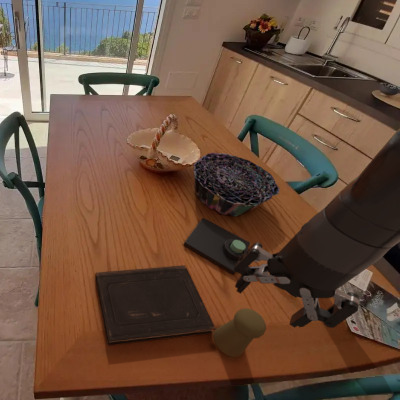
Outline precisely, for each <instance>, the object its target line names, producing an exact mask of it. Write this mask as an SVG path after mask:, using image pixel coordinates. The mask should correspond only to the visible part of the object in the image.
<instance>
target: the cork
mask: <svg viewBox="0 0 400 400" xmlns="http://www.w3.org/2000/svg"><path fill="white" fill-rule="evenodd" d="M265 321H266V320H265V318H263V316H262V315H261V314H260V313H259V312H257V311H256V310H254V309H251V308H241V309H239V310H237V311H236V312H235V314H234V315H233V319H231V320H229V321H227V322H225V323H224V324H222V325H220V326H219V327H217V328H216V329H215V330H214V331H213V341H214V343H215V346H216V347H217V348H218V349H219V351H221V352H222V353H223V354H224V355H226V356H228V357H232V358H237V357H240V356H241V355H242V354H243V353H244V352H245V351H246V349H247V348H248V346H249V345H250V344H251V342H252V341H253V340H254V339H259V338H261V337H263V336H264V335H265V333H266V331H267V324H266V322H265Z"/></svg>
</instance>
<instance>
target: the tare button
mask: <svg viewBox="0 0 400 400" xmlns="http://www.w3.org/2000/svg"><path fill="white" fill-rule="evenodd" d="M230 248H231V250H232V251H233V252H235V253H242V252H243V251H244V249H245V248H246V246H245V244H244V243H243V242H241V241H239V240H234V241H233V242H232V244H231V245H230Z"/></svg>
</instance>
